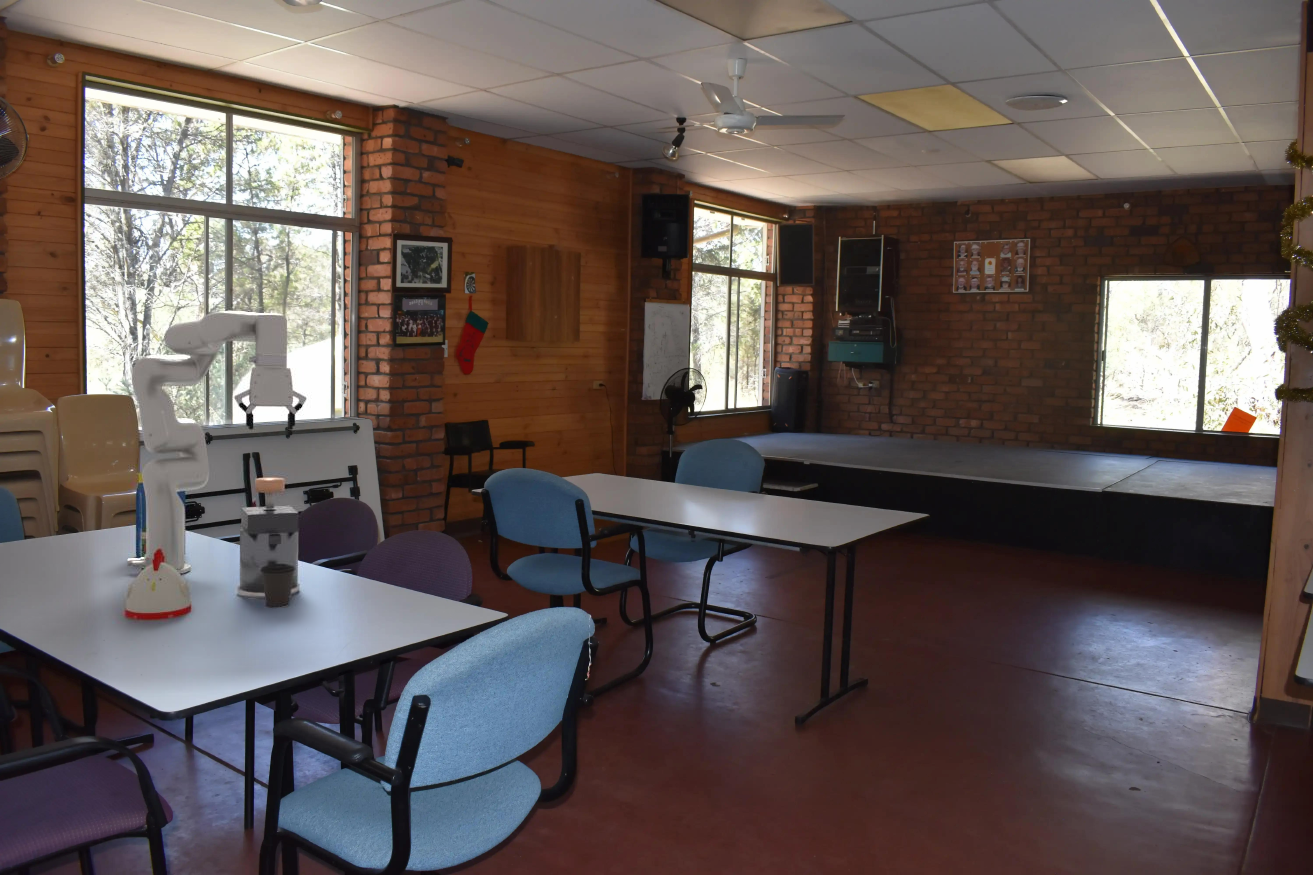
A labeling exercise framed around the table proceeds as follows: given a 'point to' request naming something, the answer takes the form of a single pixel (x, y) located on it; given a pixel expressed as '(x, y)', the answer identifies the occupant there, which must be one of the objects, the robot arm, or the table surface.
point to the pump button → (269, 488)
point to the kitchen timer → (158, 592)
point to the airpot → (266, 546)
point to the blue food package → (144, 517)
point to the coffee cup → (277, 584)
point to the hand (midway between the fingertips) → (270, 429)
